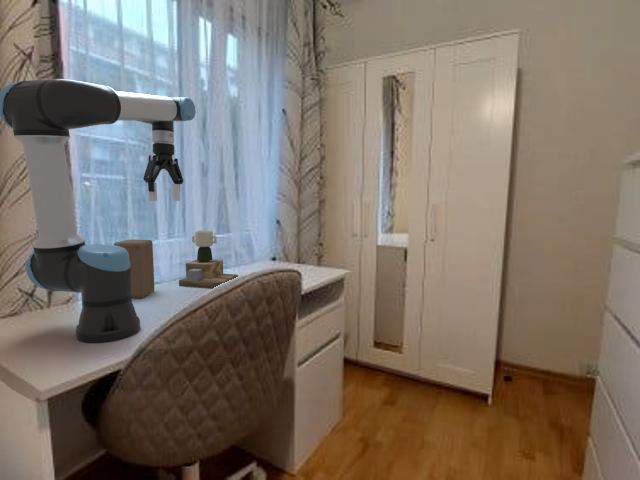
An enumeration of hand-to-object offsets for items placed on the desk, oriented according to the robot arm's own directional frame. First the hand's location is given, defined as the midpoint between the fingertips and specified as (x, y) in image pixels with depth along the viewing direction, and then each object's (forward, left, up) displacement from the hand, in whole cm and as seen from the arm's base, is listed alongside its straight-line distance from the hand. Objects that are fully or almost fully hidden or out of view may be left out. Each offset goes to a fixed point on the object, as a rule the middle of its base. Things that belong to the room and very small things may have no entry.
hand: (165, 201), depth 145 cm
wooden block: (-10, +6, -35) cm, 37 cm away
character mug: (+16, -6, -26) cm, 31 cm away
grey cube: (+8, -7, -32) cm, 33 cm away
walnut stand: (+14, -10, -34) cm, 38 cm away
